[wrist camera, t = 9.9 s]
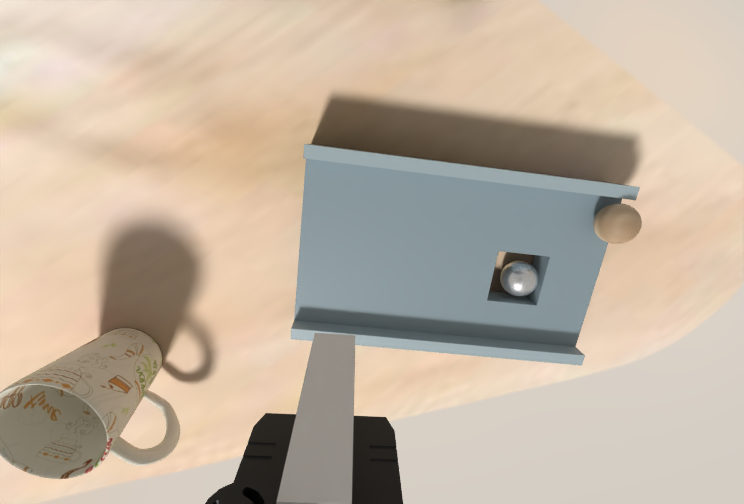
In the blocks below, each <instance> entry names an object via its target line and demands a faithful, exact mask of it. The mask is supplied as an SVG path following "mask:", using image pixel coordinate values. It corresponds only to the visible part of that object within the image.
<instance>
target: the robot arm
mask: <svg viewBox="0 0 744 504" xmlns="http://www.w3.org/2000/svg"><path fill="white" fill-rule="evenodd" d="M354 374H355V335H345V334H327V333H315V334H314V339H313V343H312V347H311V352H310V356H309V361H308V365H307V369H306V374H305V378H304V383H303V387H302V391H301V396H300V400H299V405H298V409H297V414H296V415H295V414H271V413H266V414H265V415H264V416H263V417H262V418H261V419H260V420H259V421H258V422H257V424H256V425H255V426H254V427H253V430H252V433H251V436H250V439H249V441H248V445H247V447H246V450H245V452H244V455H243V459H242V461H241V463H240V466H239V469H238V472H237V475H236V477H235V480H234V483H232V484H230V485H227V486H225V487H223V488H221V489H219V490H218V491H217V492H216V493H215V494H213V495H212V496H211V497H210V498H209V499H208V500H207V502H206V503H205V504H403V500H402V491H401V483H400V474H399V466H398V458H397V450H396V440H395V432H394V429H393V428H392V427H391V425H390V423H389V421H388V420H387V418H386V417H368V416H354Z"/></svg>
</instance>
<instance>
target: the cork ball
mask: <svg viewBox="0 0 744 504" xmlns="http://www.w3.org/2000/svg"><path fill="white" fill-rule="evenodd" d="M641 223H642V222H641V217H640V215H639V213H638V212H637V211H636V210H635V209H634V208H633V207H631V206H629V205H626V204H619V203H618V204H611V205H608V206H606V207H604V208H602V209H601V210H600V211H599V212H598V213H597V214H596V216H595V218H594V222H593V227H594V231H595V233H596V234H597V236H598V237H599V238H600V239H602V240H603V241H605V242H608V243H612V244H620V243H625V242H628V241H630V240H631V239H633V238H634V237H635V236H636V235H637V234H638V233H639V231H640V229H641Z"/></svg>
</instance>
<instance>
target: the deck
mask: <svg viewBox="0 0 744 504" xmlns="http://www.w3.org/2000/svg"><path fill="white" fill-rule="evenodd" d="M304 158H305V159H306V167H305V181H304V194H303V208H302V222H301V236H300V249H299V263H298V277H297V291H296V304H295V318H294V323H293V325H292V328H291V339H295V340H306V341H313V339H314V334H315V333H327V334H345V335H355V345H362V346H373V347H384V348H395V349H406V350H417V351H428V352H439V353H450V354H461V355H472V356H483V357H494V358H505V359H517V360H528V361H539V362H550V363H561V364H572V365H582V363H583V360H584V357H585V355H584V354H583V353H581V352H580V351H579V350H578V349H577V348H576V347H575V346H576V343H577V340H578V337H579V333H580V330H581V327H582V324H583V321H584V318H585V314H586V311H587V308H588V305H589V302H590V299H591V295H592V292H593V289H594V286H595V283H596V280H597V276H598V273H599V270H600V267H601V264H602V261H603V257H604V254H605V251H606V248H607V245H608V242H605V241H603V240H602V239H600V238H599V237H598V236H597V234H596V233H595V231H594V227H593V222H594V218H595V216H596V214H597V213H598V212H599V211H600V210H601V209H602V208H604V207H606V206H608V205H611V204H618V203H619V204H621V200H622V198H623V199H631V200H636V198H637V194H638V191H639V188H640V187H634V186H628V185H621V184H615V183H609V182H602V181H594V180H586V179H578V178H571V177H563V176H555V175H547V174H540V173H532V172H524V171H516V170H509V169H501V168H493V167H485V166H478V165H470V164H462V163H454V162H447V161H439V160H431V159H423V158H416V157H408V156H400V155H392V154H385V153H377V152H369V151H361V150H354V149H346V148H338V147H330V146H323V145H315V144H304ZM498 251H503V252H512V253H521V254H530V255H535V257H534V260H533V264H532V266H533V267H534V268H535V269H536V271H537V273H538V285H537V287H536V288H535V290H534V291H533V292H532V293H530V294H528V295H526V296H514V295H511V294H509V293H505V292H495V291H489V290H490V285H491V281H492V277H493V272H494V268H495V264H496V259H497V255H498Z"/></svg>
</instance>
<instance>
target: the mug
mask: <svg viewBox="0 0 744 504" xmlns="http://www.w3.org/2000/svg"><path fill="white" fill-rule="evenodd" d="M161 364H162V354H161V351H160V348H159V346H158V345H157V343H156V342H155V341H154V340H153V339H152V338H151V337H150V336H148V335H147V334H145V333H143V332H141V331H139V330H136V329H131V328H119V329H115V330H112V331H110V332H107V333H106V334H104V335H102V336H100V337H98V338H96V339H94V340H93V341H91V342H89V343H87V344H85V345H83V346H81V347H80V348H78V349H76V350H74V351H72V352H70V353H69V354H67V355H65V356H63V357H61V358H59V359H57V360H56V361H54V362H52V363H50V364H48V365H46V366H45V367H43V368H41V369H39V370H37V371H35V372H34V373H32V374H30V375H28V376H26V377H24V378H22V379H21V380H19V381H17V382H15V383H13V384H12V385H10V386H8V387H7V388H5V389H4V390H3V391H1V392H0V455H1V456H2V457H3V458H4V459H5V460H6V461H8V462H9V463H10V464H12V465H13V466H15V467H17V468H19V469H21V470H23V471H25V472H27V473H30V474H33V475H36V476H40V477H44V478H52V479H66V478H73V477H77V476H81V475H83V474H86V473H88V472H90V471H91V470H93V469H94V468H96V467H97V466H98V465H99V464H100V463H101V462H102V461H103V460H104V459H105V458H106V456H107V455H108V453H109V452H110V453H112V454H113V455H115V456H117V457H118V458H120V459H122V460H124V461H125V462H127V463H130V464H132V465H136V466H144V465H149V464H153V463H156V462H158V461H160V460H162V459H164V458H165V457H167V456H168V455H169V454H170V453H171V452H172V451H173V449H174V448H175V447H176V445H177V443H178V440H179V436H180V425H179V421H178V418H177V416H176V414H175V411H174V409H173V408H172V406H171V405H170V404H169V403H168V402H167V401H166V400H165V399H163V398H161V397H160V396H158V395H156V394H155V393H153V392H151V391H148V388H149V387H150V385H151V384H152V382H153V380H154V379H155V377H156V375H157V374H158V372H159V370H160V368H161ZM143 397H144V398H145V399H147V400H148V401H149V402H150V403H152V404H153V405H155V406H156V407H158V408H159V409H160V410H161V411H162V413H163V415H164V417H165V419H166V425H167V430H166V435H165V438H164V440H163V441H162V442H161V443H160V444H159V445H157V446H155V447H152V448H149V449H139V448H136V447H134V446H133V445H131V444H130V443H128V442H127V441H125V440H124V439H122V438H121V437H119V436H120V434H121V433H122V431H123V429H124V428H125V426H126V424H127V423H128V421H129V420H130V418H131V416H132V415H133V413H134V411H135V410H136V408H137V406H138V405H139V403H140V402H141V400H142V398H143Z"/></svg>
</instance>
